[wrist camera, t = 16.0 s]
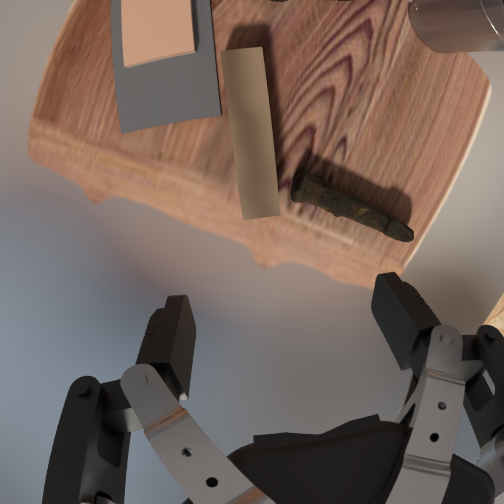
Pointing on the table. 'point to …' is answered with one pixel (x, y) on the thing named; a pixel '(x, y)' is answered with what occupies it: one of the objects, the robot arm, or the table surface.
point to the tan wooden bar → (251, 131)
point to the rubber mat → (167, 79)
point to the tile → (156, 30)
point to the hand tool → (347, 205)
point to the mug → (287, 0)
